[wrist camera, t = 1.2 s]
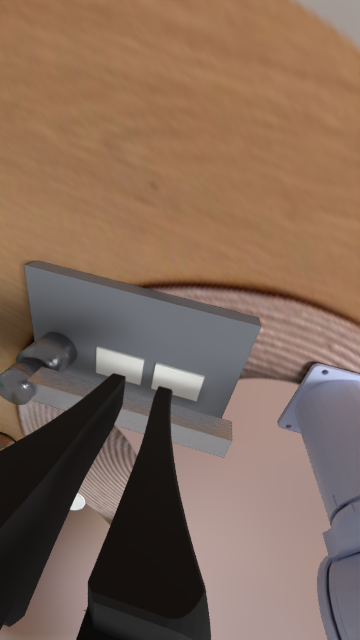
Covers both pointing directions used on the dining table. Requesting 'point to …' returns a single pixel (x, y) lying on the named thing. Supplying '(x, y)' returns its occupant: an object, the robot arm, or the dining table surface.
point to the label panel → (143, 336)
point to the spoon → (78, 502)
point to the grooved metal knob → (52, 351)
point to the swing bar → (66, 390)
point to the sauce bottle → (5, 441)
